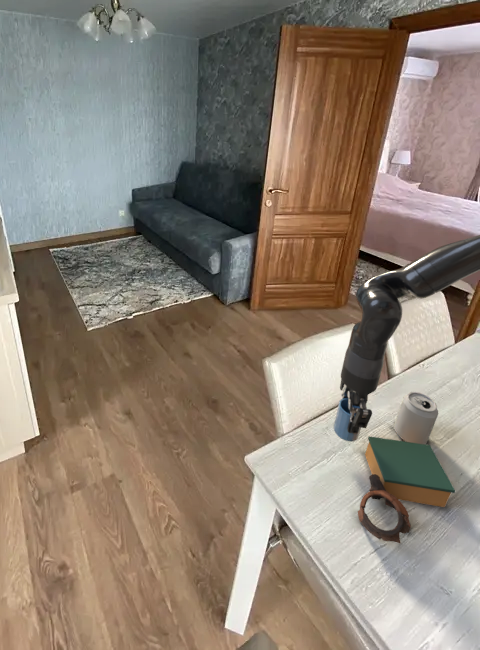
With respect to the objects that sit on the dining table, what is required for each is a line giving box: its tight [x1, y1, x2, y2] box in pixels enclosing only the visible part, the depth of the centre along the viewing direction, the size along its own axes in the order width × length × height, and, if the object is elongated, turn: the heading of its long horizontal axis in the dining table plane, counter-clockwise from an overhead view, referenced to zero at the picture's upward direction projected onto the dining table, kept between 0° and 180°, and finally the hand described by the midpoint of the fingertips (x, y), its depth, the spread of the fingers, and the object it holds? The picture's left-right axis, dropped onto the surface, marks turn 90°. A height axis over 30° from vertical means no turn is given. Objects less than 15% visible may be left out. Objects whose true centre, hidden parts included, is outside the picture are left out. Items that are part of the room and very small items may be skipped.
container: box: [364, 435, 456, 508], centre depth 79 cm, size 14×11×6 cm
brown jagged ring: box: [357, 473, 411, 544], centre depth 72 cm, size 12×9×8 cm
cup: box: [333, 398, 362, 442], centre depth 83 cm, size 6×6×8 cm
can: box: [393, 391, 439, 445], centre depth 88 cm, size 8×8×12 cm
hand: (348, 420), depth 84 cm, fingers closed on cup, 5 cm apart
